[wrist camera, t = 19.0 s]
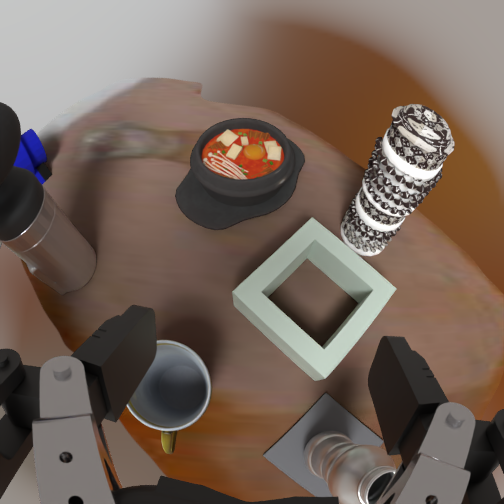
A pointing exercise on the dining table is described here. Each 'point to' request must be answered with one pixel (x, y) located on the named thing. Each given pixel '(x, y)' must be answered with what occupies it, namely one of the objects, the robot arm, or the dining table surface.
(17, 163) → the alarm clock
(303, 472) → the rubber mat
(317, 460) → the plastic bottle
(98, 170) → the dining table surface
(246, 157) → the casserole
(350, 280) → the holder block
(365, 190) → the black and white cylinder
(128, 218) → the dining table surface
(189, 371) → the ceramic cup
